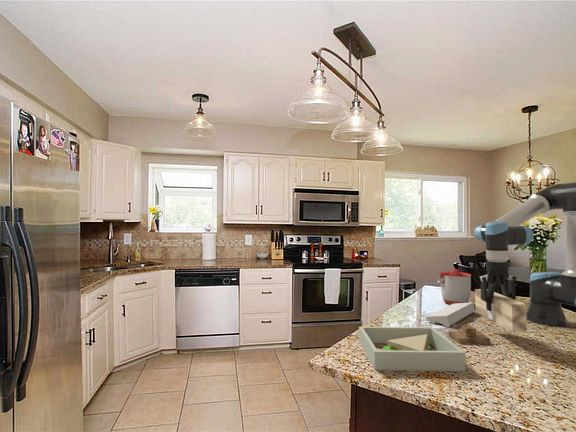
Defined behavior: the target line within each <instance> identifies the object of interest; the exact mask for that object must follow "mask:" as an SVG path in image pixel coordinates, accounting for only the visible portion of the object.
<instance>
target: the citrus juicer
mask: <svg viewBox="0 0 576 432" xmlns="http://www.w3.org/2000/svg"><path fill="white" fill-rule="evenodd" d="M439 275H440V276H439V277H440V278H439V279H437V283H438V284H439V283H440V291H441V295H442V296H441V297H442V300H443V302H444V303H445V304H448V305H451V304H455V303H470V297H471V292H472V290H471V289H472V284H471V283H472V279H471V278H472V274H470V273H467V272H460V270H459V269H458V268H453V269H452V270H451V271H441V272H440V273H439Z"/></svg>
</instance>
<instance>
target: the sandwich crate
mask: <svg viewBox="0 0 576 432" xmlns="http://www.w3.org/2000/svg"><path fill="white" fill-rule="evenodd" d="M425 334H427V341H428V344H429V345H431V346H432V347H433V348H434V349H436V350H429V351H404V350H387V349H385V350H382V349H379V350H378V349H377V347H376V346H375V344H387V340H393V339H399V338H405V337H412V336H418V335H425ZM358 342H359V344H360V347H361V348H362V350H363V352H364V353H365V356H366V357H367V359H368V360H369V361H368V362H370V364H371V366H372V368H373V370H374V371H410V372H411V371H413V372H414V371H416V372H417V371H419V372H423V371H424V372H426V371H429V372H466V351H465V350H463V349H462V348H460V347H459V346H457V345H456V344H455V343H453V342H452V341H451V340H450V339H448V338H447V337H446V336H444V335H443V334H442V333H440V332H439V331H438V330H437V329H436V328H434V327H433V326H431V327H429V326H423V327H422V326H358Z"/></svg>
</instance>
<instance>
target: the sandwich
mask: <svg viewBox="0 0 576 432" xmlns="http://www.w3.org/2000/svg"><path fill="white" fill-rule="evenodd" d="M383 348H384V349H385V350H404V351H430V349H431V348H432V345H431V344H428V341H427V334H425V335H418V336H412V337H405V338H399V339H393V340H387V343H386V346H385V345H384V346H383Z"/></svg>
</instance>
